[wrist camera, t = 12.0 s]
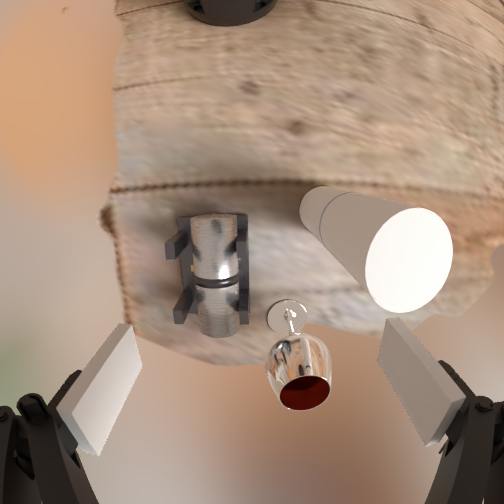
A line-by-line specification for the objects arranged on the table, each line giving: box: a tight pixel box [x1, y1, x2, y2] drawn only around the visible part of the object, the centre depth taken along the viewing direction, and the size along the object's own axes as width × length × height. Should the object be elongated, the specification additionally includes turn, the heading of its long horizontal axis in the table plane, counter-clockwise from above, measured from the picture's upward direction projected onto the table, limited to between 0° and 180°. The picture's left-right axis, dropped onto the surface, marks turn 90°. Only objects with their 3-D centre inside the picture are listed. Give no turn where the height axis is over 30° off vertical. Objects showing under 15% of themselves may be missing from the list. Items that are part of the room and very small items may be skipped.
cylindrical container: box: [299, 186, 453, 313], centre depth 28 cm, size 7×7×25 cm
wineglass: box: [265, 300, 332, 411], centre depth 36 cm, size 8×8×18 cm
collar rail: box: [165, 215, 250, 324], centre depth 39 cm, size 15×10×8 cm, turn 1°
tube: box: [190, 214, 241, 338], centre depth 38 cm, size 16×6×6 cm, turn 1°
